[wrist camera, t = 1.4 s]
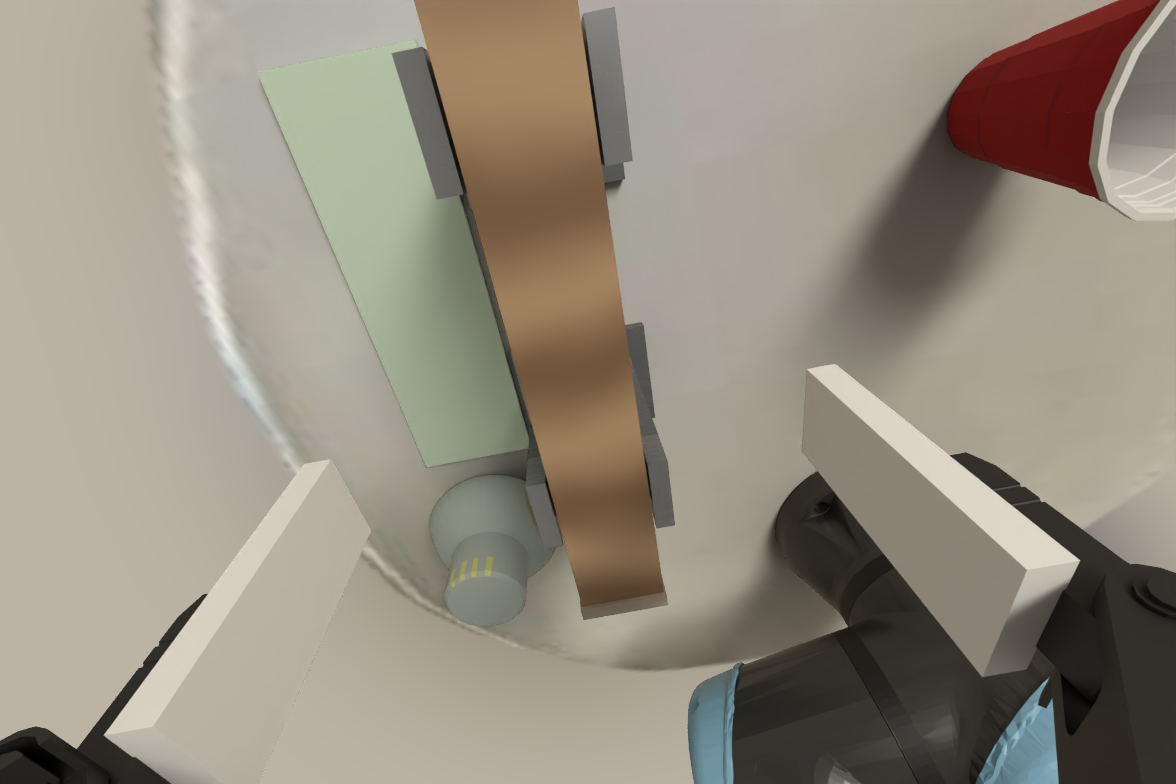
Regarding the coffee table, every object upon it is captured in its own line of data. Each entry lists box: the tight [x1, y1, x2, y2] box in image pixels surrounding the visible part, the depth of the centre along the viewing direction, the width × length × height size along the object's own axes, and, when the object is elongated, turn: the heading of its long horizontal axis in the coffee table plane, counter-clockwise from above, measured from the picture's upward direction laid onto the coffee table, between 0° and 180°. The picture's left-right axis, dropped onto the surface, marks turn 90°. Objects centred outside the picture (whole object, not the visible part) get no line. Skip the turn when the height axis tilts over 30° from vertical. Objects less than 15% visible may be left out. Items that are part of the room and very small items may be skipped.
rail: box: [414, 0, 668, 620], centre depth 20 cm, size 29×5×5 cm, turn 10°
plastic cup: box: [948, 0, 1176, 221], centre depth 25 cm, size 11×11×12 cm
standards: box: [392, 7, 675, 549], centre depth 27 cm, size 26×10×14 cm, turn 10°
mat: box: [257, 40, 529, 467], centre depth 33 cm, size 28×9×1 cm, turn 10°
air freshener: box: [430, 475, 555, 626], centre depth 38 cm, size 11×8×10 cm
